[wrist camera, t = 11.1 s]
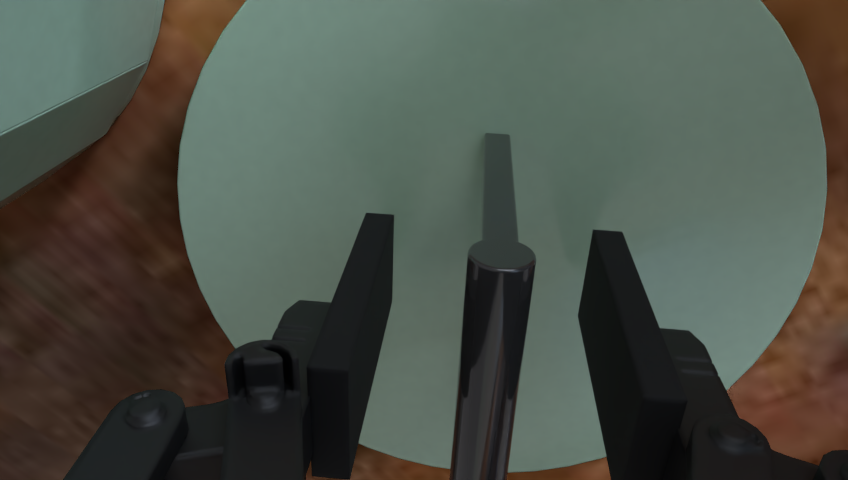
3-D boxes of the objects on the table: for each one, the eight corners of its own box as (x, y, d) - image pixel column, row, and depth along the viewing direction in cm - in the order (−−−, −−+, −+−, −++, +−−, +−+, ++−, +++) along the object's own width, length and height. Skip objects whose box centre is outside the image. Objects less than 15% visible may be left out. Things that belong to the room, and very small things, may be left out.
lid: (912, -97, 16) (1326, -85, 8) (720, 471, 24) (828, 744, 16) (150, -131, 17) (-142, -149, 9) (223, 424, 25) (105, 660, 18)
